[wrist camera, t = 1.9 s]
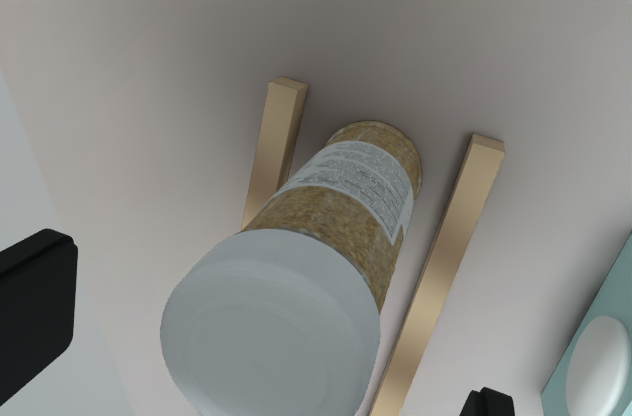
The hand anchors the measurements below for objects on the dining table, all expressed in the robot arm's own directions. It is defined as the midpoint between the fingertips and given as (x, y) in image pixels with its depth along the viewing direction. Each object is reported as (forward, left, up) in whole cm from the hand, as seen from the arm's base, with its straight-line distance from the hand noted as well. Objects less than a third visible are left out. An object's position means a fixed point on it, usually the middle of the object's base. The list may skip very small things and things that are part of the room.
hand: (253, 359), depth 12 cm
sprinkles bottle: (-1, 0, -13) cm, 13 cm away
